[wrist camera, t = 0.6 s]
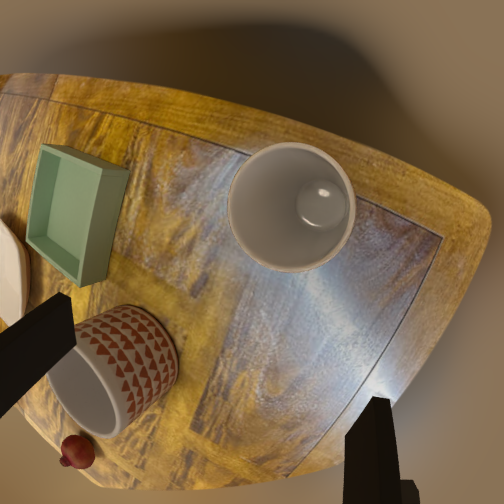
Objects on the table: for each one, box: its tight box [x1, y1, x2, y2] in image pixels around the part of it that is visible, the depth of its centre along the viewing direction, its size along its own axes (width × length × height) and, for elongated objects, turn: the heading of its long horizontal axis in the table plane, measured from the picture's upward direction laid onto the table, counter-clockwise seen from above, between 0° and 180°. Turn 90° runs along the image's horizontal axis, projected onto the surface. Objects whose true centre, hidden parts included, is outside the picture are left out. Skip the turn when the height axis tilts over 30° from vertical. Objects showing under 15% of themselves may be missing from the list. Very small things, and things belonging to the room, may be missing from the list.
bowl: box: [0, 219, 31, 327], centre depth 47 cm, size 22×22×5 cm
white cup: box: [227, 142, 357, 273], centre depth 22 cm, size 7×7×15 cm
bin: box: [26, 144, 130, 288], centre depth 38 cm, size 16×16×5 cm
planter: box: [46, 305, 178, 439], centre depth 34 cm, size 14×14×13 cm
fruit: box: [60, 435, 95, 469], centre depth 47 cm, size 8×8×10 cm
